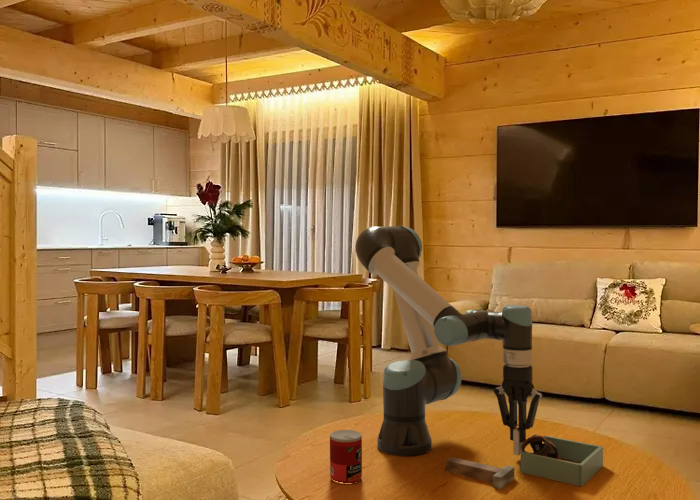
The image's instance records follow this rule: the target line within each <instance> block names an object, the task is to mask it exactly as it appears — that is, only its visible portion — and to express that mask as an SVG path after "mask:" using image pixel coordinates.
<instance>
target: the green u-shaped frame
mask: <svg viewBox="0 0 700 500" xmlns="http://www.w3.org/2000/svg"><path fill="white" fill-rule="evenodd" d="M544 437H545V438H547V440H549V441H551V442H552V443H553V444H554V445H555V446H556V448H557V451H558V455H559V457H560V460H559V459H555V458H550V457H545V456H540V455H536V454H531V453H532V452H529V453H526V452H527V451H526V452H521V454H520V473H523V474H527V475H532V476H534V477H538V478H543V479H549V480H552V481H553V480H554V481H557V482H560V483H566V484H569V485H570V484H571V485H575V486H578V487H583V486H584V485H586V483H588V481H590V480H591V479H592V478H593V477H594V475H595V474H597V472H598V471H599V470H601V469H602V468H603V467H604V446H602V445H597V444H591V443H587V442H586V443H585V442H581V441H576V440H570V439H565V438H561V437H560V438H559V437H555V436H550V435H544ZM543 444H545V442H543ZM562 459H564V460H562Z"/></svg>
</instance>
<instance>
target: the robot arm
mask: <svg viewBox="0 0 700 500" xmlns="http://www.w3.org/2000/svg"><path fill="white" fill-rule="evenodd" d="M422 243H423V242H422V240H421V238H420V236H419V234H418V233H417V232H416V231H415V230H414V229H412V228H410V227H408V226H402V225H394V226H390V225H388V226H387V225H386V226H381V225H380V226H379V225H377V226H376V225H375V226H369V227H368V228H365V229H364V230H362V232H361V233H360V234H359V235H358V236H357V238H356V242H355V245H354V246H355V254H356V257H357V259H358V261H359V263H360V264H361V265H362V267H364V268H365V270H367V272H369V273H370V274H372V275H374V276H376V275H377V276H378V277H379V278H381V279H382V281H383V282H385V283H386V284H387V285H388V286H389V287H390V288H392V290H393V293H394V297H395V299H396V303H397V307H398V311H399V313H400V317H401V320H402V321H401V322H402V325H403V327H404V331H405V334H406V338H407V341H408V346H409V349H410V351H411V352H410V353H411V354H410V357H409V358H408V359H405V360H398V361H394V362H391V363H389V364H388V365H386V367H385V368H384V369H383V378H382V389H383V391H382V392H383V393H382V394H383V395H382V397H383V398H382V400H383V403H382V404H383V405H382V406H383V408H382V409H383V420H382V423H381V427H380V430H379V432H378V435H377V436H378V437H377V442H376V443H377V449H378V450H379V451H381V452H382V453H385V454H389V455H393V456H403V457H404V456H406V457H410V456H418V455H423V454H426V453H428V452H430V451H431V450H432V445H433V444H432V437H431V434H430V430H429V428H428V424H427V421H426V405H429V404H433V403H436V402H440V401H444V400H447V399H448V398H450V397H453V396H454V395H456V393H457V392H458V390H459V388H460V387H461V384H462V371H461V369H460V366H459V364H458V363H457V362H456V361H454V359H452V358H451V357H449V355H448V352H447V349H445V348H444V347H442V346H441V345H443V346H447V347H449V346H459V345H461V344H466V343H471V342H475V341H480V340H486V339H488V340H498V341H502V362H503V365H502V378H503V379H502V383H501V385H500V386H498V387H495V388H493V393H494V395H495V396H496V399H497V404H498V408H499V411H500V416H501V420H502V424H503V425H504V426H506V427H508V428H509V435H510V436H509V439H510V441H512V442H513V443H512V444H513V445H512V446H513V449H512V451H513V452H512V454H513V455H515V456H521V452H522V448H521V445H522V443H523V442H524V441H525V440H526V439H527V430H529V429H532V428H533V427H534V423H535V420H536V415H537V411H538V407H539V403H540V400H541V399H542V398H543V396H544V394H543V393H542V392H538V391H537V390H536V389H535V385H534V384H533V366H532V364H533V325H534V323H533V314H532V312H533V311H532V308H530V307H529V306H527V305H523V304H509V305H508V304H507V305H504V306H503V308H502V311H491V310H482V309H468V310H466V311H465V313H462V312H460V311H459V310H457V308H455V307H454V306H453V305H452V304H450V303H449V302H448V301H447V300H446V299H445V298H444V297H443V296H441V294H440V293H439V292H437V291H436V290H435V289H434V288H433V287H432V286H430V285H429V284H428V283H427V282H426V281H425V280H424V279H423V278H421V276H419V273H418V272H419V271H418V269H419V266H420V265H421V262H420V257H421V255H422V251H423V244H422ZM440 344H441V345H440ZM505 394H506V395H507V398H506V395H505ZM530 396H531V401H530V404H529V408H528V412H527V403H528V398H529V397H530ZM507 401H508V402H507ZM508 405H509V406H508Z"/></svg>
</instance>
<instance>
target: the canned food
mask: <svg viewBox="0 0 700 500" xmlns="http://www.w3.org/2000/svg"><path fill="white" fill-rule="evenodd" d="M362 438H363V435H362V433H361V432H359V431H358V430H357V431H356V430H353V429H340V430H334V431H332V432H330V434H329V476H330V478H332V479H333V480H335V481H338V482H343V483H355V482H357V483H359V482H360V481H361V480H362V476H363V440H362ZM332 479H331V480H332ZM358 481H359V482H358ZM355 484H356V483H355Z"/></svg>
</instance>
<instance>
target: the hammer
mask: <svg viewBox="0 0 700 500" xmlns="http://www.w3.org/2000/svg"><path fill="white" fill-rule="evenodd" d="M444 465H445V466H444V467H445V472H446V473H450V474H453V475H454V474H455V475H458V476H462V477H467V478H471V479H476V480H477V481H478V480H479V481H483V482H486V483H487V482H488V483H491V484H492V488H494V489H496V490H497V489H498V490H503V488H504V487H506V486H507V485H508V484H510V483H511V482H512V481H514V479H515V467H514V466H512V465H511V466H510V465H505V466H504V467H503V468H502V467H498V466H492V465H488V464H483V463H479V462H476V461H470V460H466V459H462V458H456V457H453V456H450V457H449V458H447V459H445V460H444Z"/></svg>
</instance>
